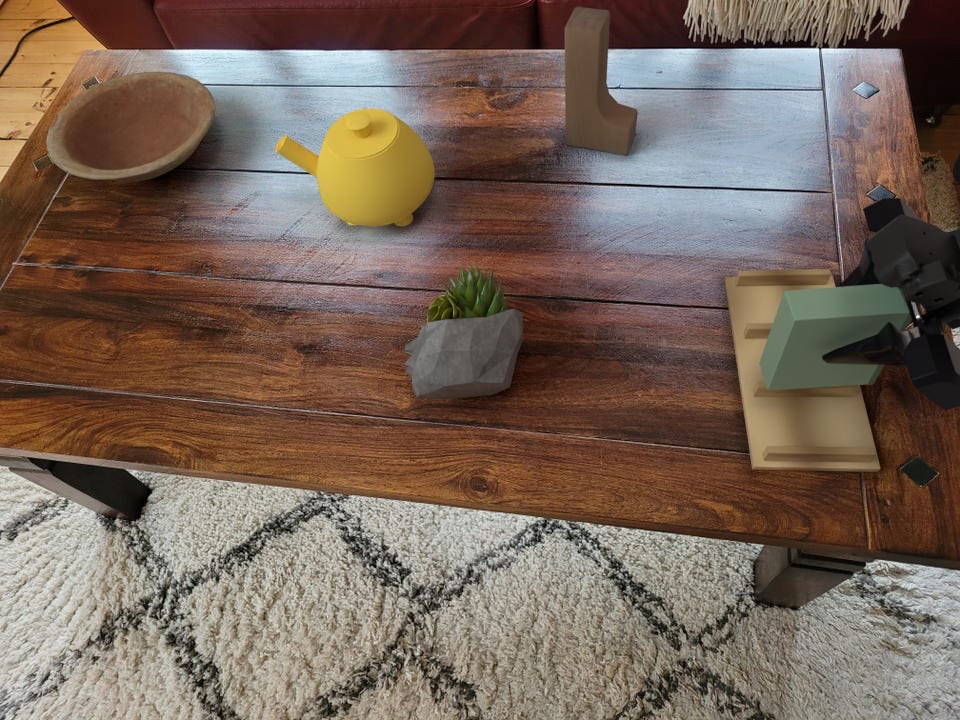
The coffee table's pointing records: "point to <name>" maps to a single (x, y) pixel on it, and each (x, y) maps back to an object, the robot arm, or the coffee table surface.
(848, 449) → the rack
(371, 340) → the coffee table surface
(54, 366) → the coffee table surface
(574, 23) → the wooden block
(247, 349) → the coffee table surface
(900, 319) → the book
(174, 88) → the bowl
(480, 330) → the potted plant
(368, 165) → the teapot
